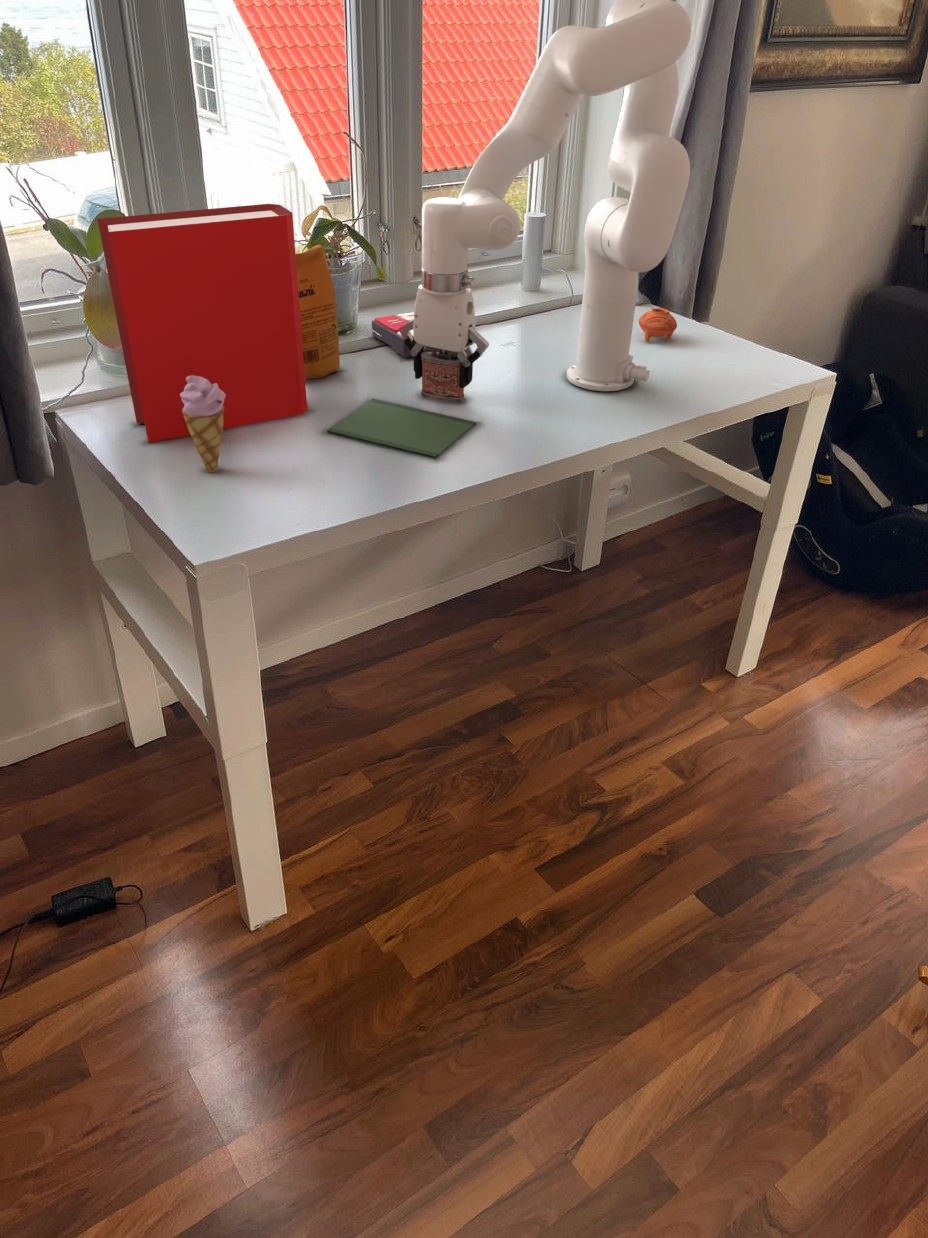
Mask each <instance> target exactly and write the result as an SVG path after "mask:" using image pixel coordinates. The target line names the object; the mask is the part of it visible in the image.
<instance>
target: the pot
mask: <svg viewBox="0 0 928 1238" xmlns="http://www.w3.org/2000/svg"><path fill="white" fill-rule="evenodd" d="M638 325H639V327H640V329H641V331H643V332H644V340H645V342H646V343H649V342H650V340H651V337H653V338H663V337H667V338H666V341H669V340H671V338H672V336H673V334H674V333H675V330H677V328H678V323H677V320H676V319H675V317H674V316H673V315H672V314H671V313H670V311H669V310H668V309H666V308H662V307H657V308H653V307H652V308H651V310H649V311H647V312H645V313H643V314H642V315H641V316H640V317H639V319H638Z"/></svg>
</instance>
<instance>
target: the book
mask: <svg viewBox="0 0 928 1238" xmlns="http://www.w3.org/2000/svg"><path fill="white" fill-rule="evenodd" d="M293 215H294V214H293V212H292V211H291V210H289V209H288V208H286V207H284V205H281V204H276V203H262V204H252V205H251V204H250V205H249V204H248V205H239V206H227V207H216V208H205V209H194V210H193V209H192V210H182V211H181V210H180V211H169V212H160V213H149V214H146V213H145V214H137V215H136V214H135V215H125V216H114V217H112V216H111V217H102V218H97V225H98V229H99V236H100V240H101V245H102V252H103V256H104V261H105V266H106V271H107V277H108V282H109V287H110V292H111V298H112V302H113V307H114V312H115V313H114V314H115V318H116V323H117V328H118V334H119V339H120V345H121V349H122V355H123V360H124V365H125V369H126V370H125V371H126V375H127V380H128V385H129V392H130V395H131V401H132V406H133V412H134V417H135V421H136V424H137V425H139V424H144V428H145V432H146V433H145V434H146V438H147V443H148V444H150V443H155V442H160V441H166V440H171V439H178V438H182V437H188V436H191V434H190V432H189V429H188V426H187V424H186V421H185V418H184V415H183V412H182V409H183V407H184V403H183V402H182V399H181V397H180V393H182V392H183V391H184V388H185V386H186V385H187V384H188V382H187V381H186V378H187V377H188V376H192V375H194V376H198V377H203V378H205V379H207V380H208V381H209V382H210V384H215V383H217V384H218V387H219V389H220V390H222V391H223V392H224V393H225V395H226V397H225V399H224V403H223V405H224V420H223V430H227V429H231V428H237V427H242V426H248V425H253V424H259V423H264V422H270V421H275V420H281V419H285V418H291V417H296V416H297V417H298V416H302V415H304V414H305V413H306V412H308V399H307V397H308V396H307V385H306V379H305V370H304V357H303V344H302V331H301V318H300V305H299V292H298V279H297V266H296V253H297V252H296V241H295V229H294V216H293Z"/></svg>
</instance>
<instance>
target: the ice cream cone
mask: <svg viewBox="0 0 928 1238" xmlns="http://www.w3.org/2000/svg"><path fill="white" fill-rule="evenodd" d="M186 381H187V382H188V384H187V385H186V386H185V388H184V391H183V392H182V393H180V397H181V399H182V402H183V403H184V407H183V409H182V412H183V415H184V418H185V421H186V424H187V426H188V429H189V432H190V434H191V435H190V436H191V439H192V441H193V443H194V446H195V448H196V450H197V452H198V455H199V456H200V459H201V461H202V463H203V465H204V467H205V469H206V471H207V473H209V474H214V473H215V474H216V472H218V465H219V459H220V453H221V447H222V439H223V431H224V429H223V420H224V405H223V403H224V399H225V397H226V395H225V393H224V392H223V391H222V390H220V389H219V387H218V384H217V383H215V384H210V382H209V381H208V380H207V379H205V378H203V377H198V376H194V375H192V376H188V377H187V378H186Z"/></svg>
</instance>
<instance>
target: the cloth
mask: <svg viewBox="0 0 928 1238" xmlns="http://www.w3.org/2000/svg"><path fill="white" fill-rule="evenodd" d="M476 424H477V422H476V421H474V420H469V419H466V418H460V417H457V416H451V415H447V414H442V413H439V412H434V411H429V410H424V409H421V408H416V407H412V406H407V405H403V404H398V403H393V402H389V401H384V400H380V399H376V398H372V399H371V400H369V401H368V402H367V403H365V404H364V405H362V406H361V407H359V408H358V409H356V410H355V411H353V412H352V413H350V414H349V415H348V416H346V417H345V418H344V419H342V420H341V421H339V422H338V423H336V424H334V425H333V426H332V427H330V428H328V430H326V431H327V432H326V433H327V434H331V435H336V436H338V437H339V436H340V437H343V438H349V439H352V440H356V441H359V442H364V443H369V444H372V445H377V446H381V447H386V448H389V449H393V450H396V451H397V450H398V451H402V452H405V453H410V454H414V455H417V456H423V457H425V458H430V459H435V460H436V459H438V457H440V456H441V455H443V454H444V452H446V451H447V450H448V449H449V448H450V447H451V446H452V445H453V444H455V443H456V442H457V441H458V440H459V439H460V438H462V437H463V436H464V435H465V434H466V433H468V431H470V430H471V429H472V428H474V426H475V425H476Z"/></svg>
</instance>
